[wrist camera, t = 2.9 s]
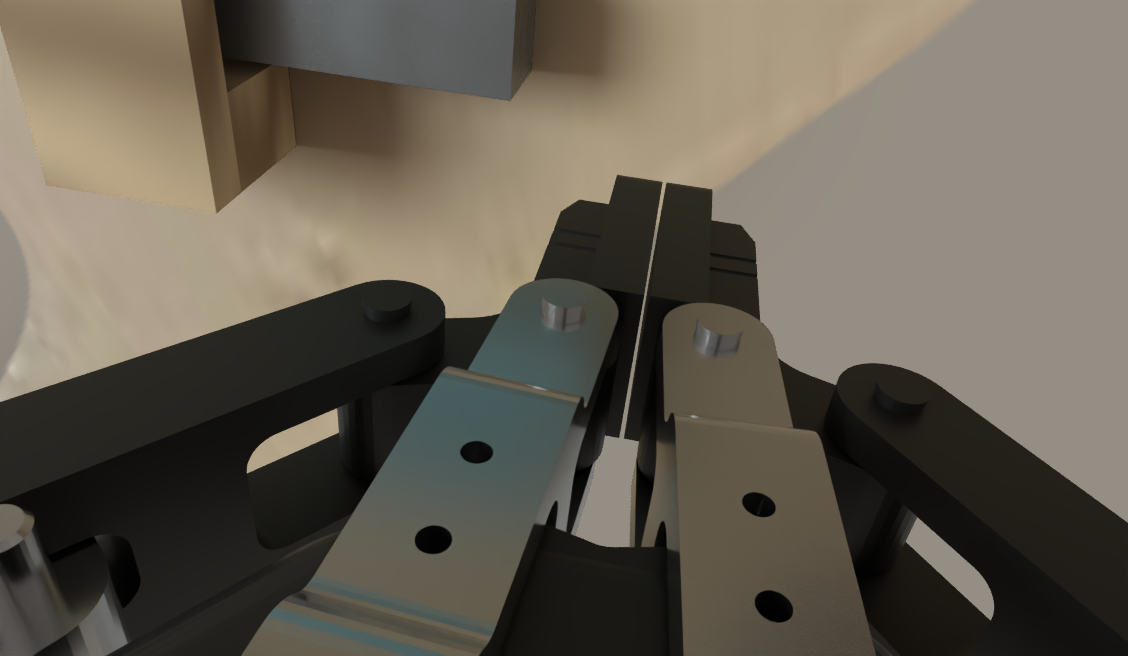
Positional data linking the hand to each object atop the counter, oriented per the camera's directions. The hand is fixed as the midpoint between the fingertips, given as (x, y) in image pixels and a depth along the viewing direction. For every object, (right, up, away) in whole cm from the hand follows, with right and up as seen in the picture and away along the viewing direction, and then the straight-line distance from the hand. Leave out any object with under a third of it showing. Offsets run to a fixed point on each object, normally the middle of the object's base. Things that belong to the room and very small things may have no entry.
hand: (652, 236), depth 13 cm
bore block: (-12, +9, +11) cm, 18 cm away
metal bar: (-8, +8, +11) cm, 16 cm away
